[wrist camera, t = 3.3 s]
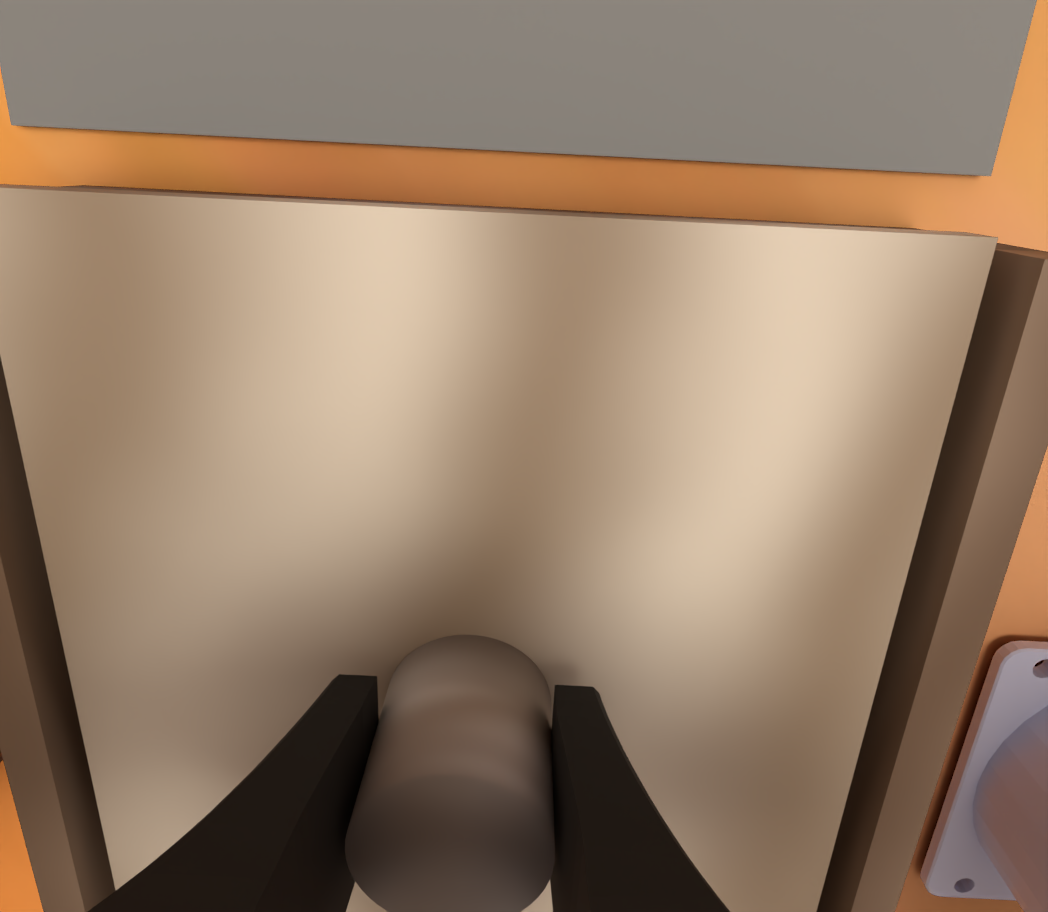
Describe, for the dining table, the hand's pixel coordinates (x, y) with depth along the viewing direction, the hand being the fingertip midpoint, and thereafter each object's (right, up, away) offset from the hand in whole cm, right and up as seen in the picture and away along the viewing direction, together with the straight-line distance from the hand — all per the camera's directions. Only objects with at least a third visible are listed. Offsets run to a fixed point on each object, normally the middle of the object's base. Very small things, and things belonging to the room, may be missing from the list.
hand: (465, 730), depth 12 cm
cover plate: (0, +1, +2) cm, 2 cm away
